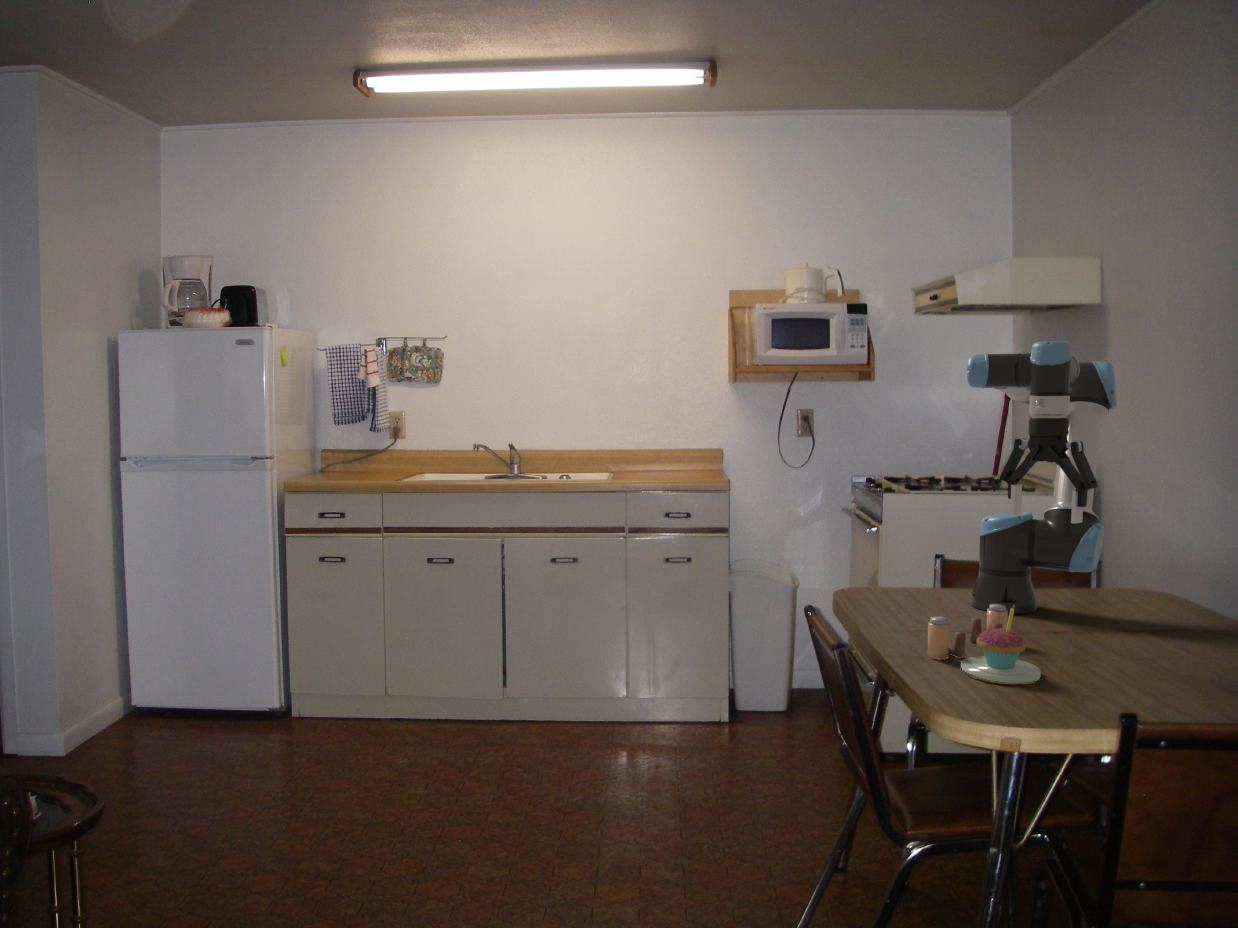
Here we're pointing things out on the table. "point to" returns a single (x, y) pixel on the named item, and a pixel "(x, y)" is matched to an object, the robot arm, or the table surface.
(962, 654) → the rack
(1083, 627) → the table surface
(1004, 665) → the cupcake
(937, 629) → the shaker
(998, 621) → the shaker
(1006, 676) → the plate
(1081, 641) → the table surface
